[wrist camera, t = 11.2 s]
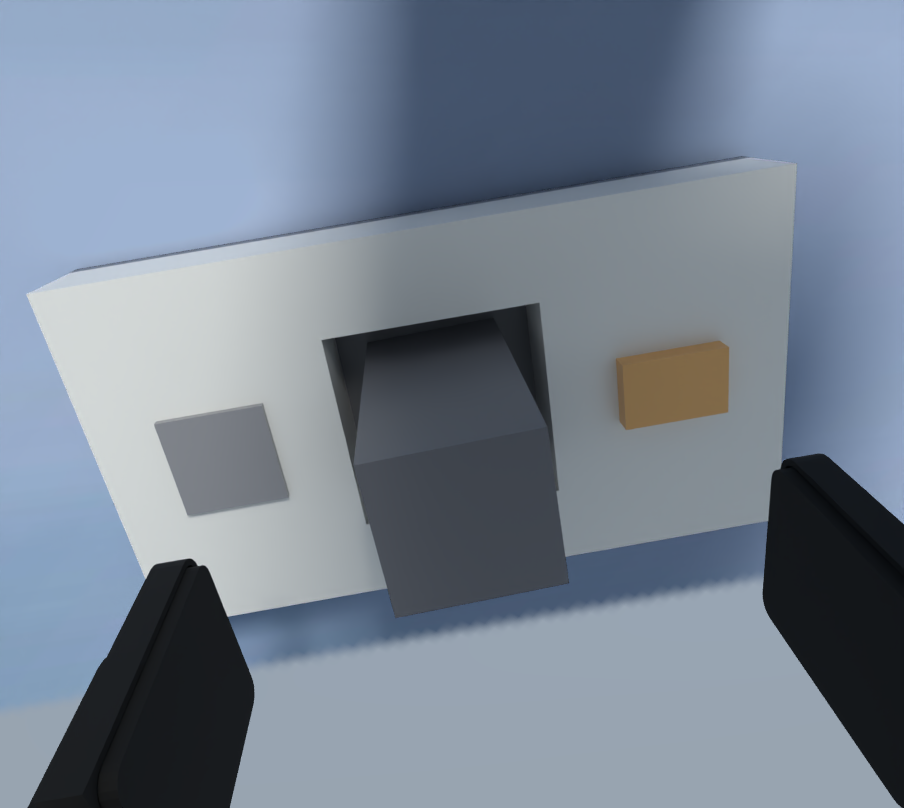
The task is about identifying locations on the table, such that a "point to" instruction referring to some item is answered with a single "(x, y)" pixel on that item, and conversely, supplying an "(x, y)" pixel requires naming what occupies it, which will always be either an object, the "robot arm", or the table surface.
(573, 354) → the switch panel
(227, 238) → the table surface
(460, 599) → the block
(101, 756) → the robot arm
